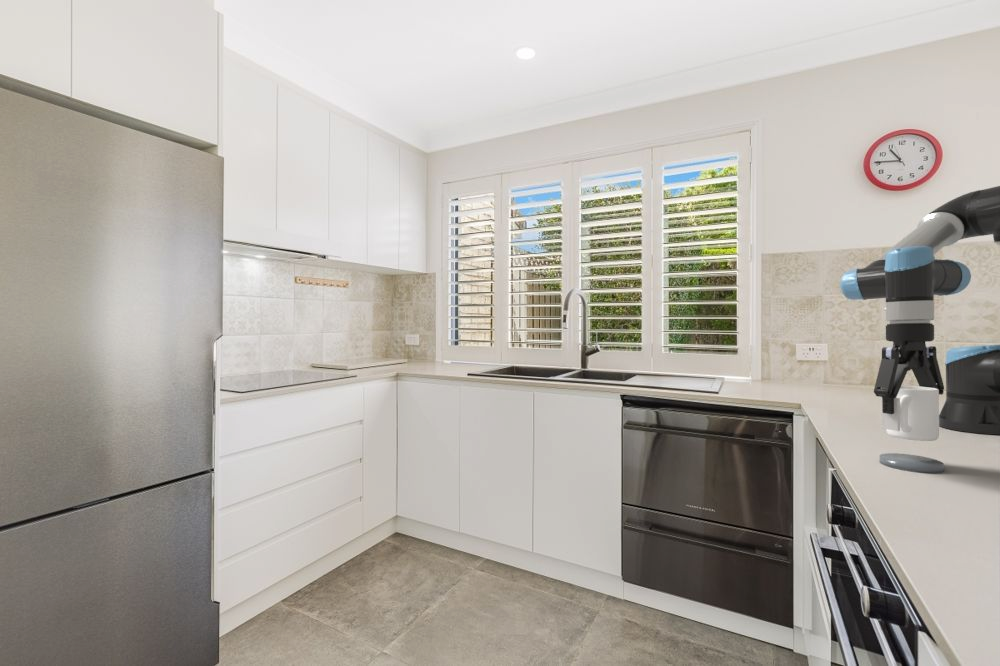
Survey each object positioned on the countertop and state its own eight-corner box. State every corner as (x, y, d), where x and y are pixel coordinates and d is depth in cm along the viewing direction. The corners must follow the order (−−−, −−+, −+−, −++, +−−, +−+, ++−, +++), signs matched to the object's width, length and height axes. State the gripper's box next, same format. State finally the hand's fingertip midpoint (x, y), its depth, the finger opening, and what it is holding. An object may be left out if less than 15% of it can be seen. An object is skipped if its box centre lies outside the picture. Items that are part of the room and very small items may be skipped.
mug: (929, 446, 89) (929, 393, 89) (875, 438, 95) (875, 389, 95) (943, 437, 96) (942, 387, 96) (892, 430, 102) (891, 384, 102)
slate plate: (897, 456, 102) (897, 451, 102) (955, 469, 93) (955, 463, 93) (868, 461, 99) (868, 456, 99) (925, 475, 89) (925, 469, 89)
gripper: (922, 322, 103) (923, 419, 103) (851, 323, 95) (852, 428, 95) (966, 321, 96) (966, 425, 96) (893, 322, 88) (894, 436, 88)
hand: (910, 427), depth 96 cm, fingers closed on mug, 12 cm apart
